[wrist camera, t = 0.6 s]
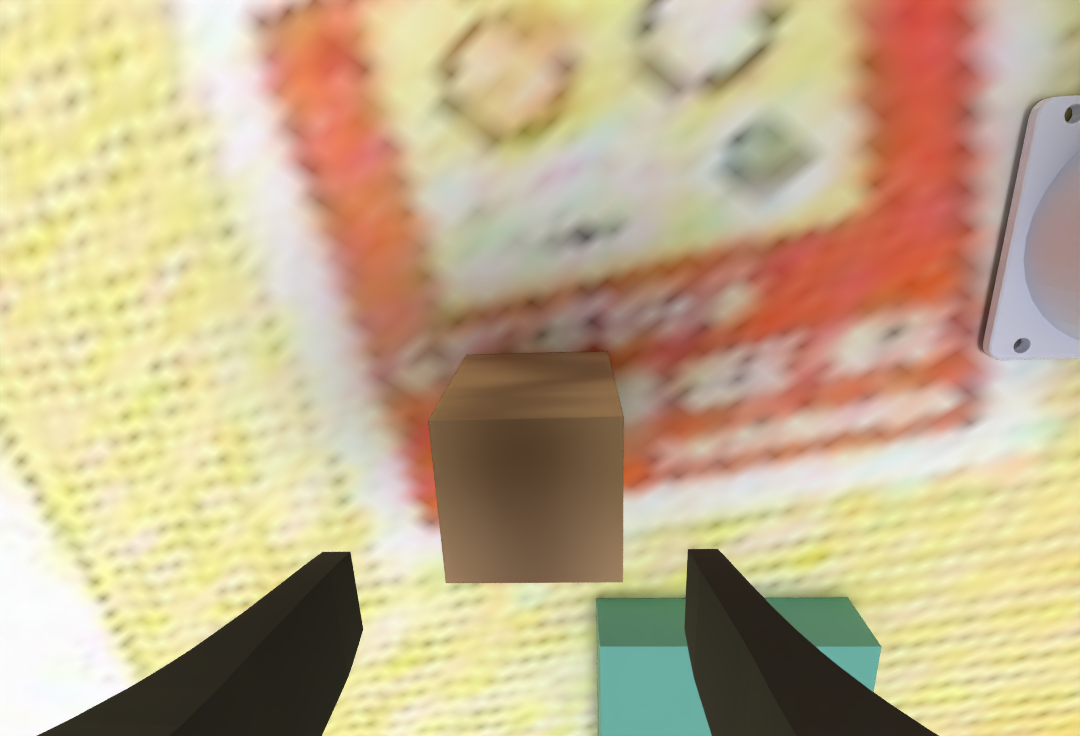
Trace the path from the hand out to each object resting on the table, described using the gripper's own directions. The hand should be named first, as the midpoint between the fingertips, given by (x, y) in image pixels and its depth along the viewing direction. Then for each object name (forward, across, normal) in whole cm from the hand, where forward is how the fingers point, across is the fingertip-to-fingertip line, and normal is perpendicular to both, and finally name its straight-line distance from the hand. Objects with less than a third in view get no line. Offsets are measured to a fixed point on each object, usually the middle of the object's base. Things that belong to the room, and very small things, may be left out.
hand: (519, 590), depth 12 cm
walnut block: (+9, 0, 0) cm, 9 cm away
